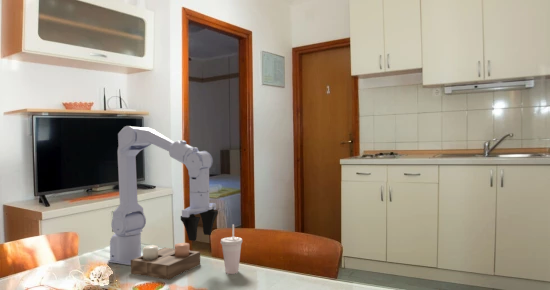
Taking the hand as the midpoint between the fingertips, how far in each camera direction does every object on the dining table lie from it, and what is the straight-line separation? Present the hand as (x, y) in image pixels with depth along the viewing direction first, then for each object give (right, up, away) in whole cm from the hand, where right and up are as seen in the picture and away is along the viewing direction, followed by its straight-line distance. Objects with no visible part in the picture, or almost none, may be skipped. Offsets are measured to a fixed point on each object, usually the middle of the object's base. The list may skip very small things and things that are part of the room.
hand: (200, 237), depth 116 cm
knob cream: (-15, -7, +1) cm, 17 cm away
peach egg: (-6, -7, +4) cm, 10 cm away
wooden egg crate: (-11, -10, +3) cm, 15 cm away
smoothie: (+10, -10, -1) cm, 14 cm away
